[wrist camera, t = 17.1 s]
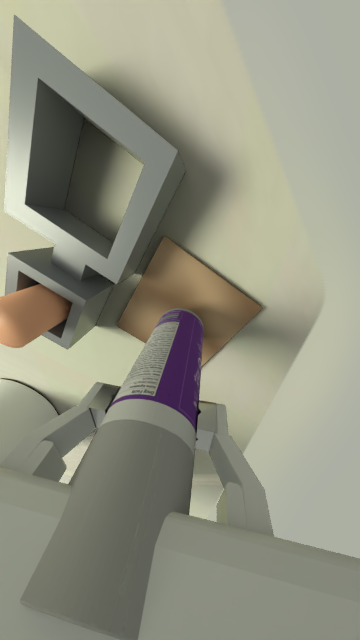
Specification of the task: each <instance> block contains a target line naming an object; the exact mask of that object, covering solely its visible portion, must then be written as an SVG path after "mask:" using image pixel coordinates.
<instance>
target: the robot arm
mask: <svg viewBox="0 0 360 640" xmlns="http://www.w3.org/2000/svg"><path fill="white" fill-rule="evenodd" d="M120 388H121V387H120V386H115V385H110V384H105V383H100V382H97V383H95V384H94V385H93V387H92V388H91V389H90V391H89V392H88V393H87V395H86V396H85V397H84V399H83V400H82V401H81V403H80V404H79V405H78V406H74V407H72V408H71V409H69V410H67V411H66V412H64V413H62V414H61V415H58V414H57V412H56V411H55V409H54V407H53V406H52V405H51V404H50V403H49V402H48V401H47V400H46V399H45V398H44V397H43V396H41V395H40V394H39V393H37V392H36V391H34V390H32V389H31V388H29V387H27V386H25V385H22V384H20V383H17V382H14V381H11V380H5V379H0V640H119V639H116V638H113V637H110V636H107V635H104V634H101V633H98V632H95V631H92V630H89V629H86V628H83V627H81V626H78V625H75V624H72V623H70V622H67V621H64V620H61V619H58V618H56V617H53V616H50V615H47V614H45V613H42V612H39V611H37V610H34V609H31V608H29V607H26V606H24V605H22V604H21V603H20V599H21V597H22V595H23V593H24V591H25V589H26V587H27V585H28V583H29V581H30V579H31V577H32V575H33V573H34V571H35V569H36V567H37V565H38V563H39V561H40V559H41V557H42V555H43V553H44V551H45V549H46V547H47V545H48V543H49V541H50V539H51V537H52V535H53V533H54V531H55V529H56V527H57V525H58V523H59V521H60V519H61V517H62V514H63V512H64V509H65V506H66V504H67V501H68V499H69V496H70V493H71V485H69V484H65V483H61V482H59V480H60V479H61V477H62V475H63V473H64V472H65V470H66V464H65V462H64V461H63V459H62V457H64V456H65V455H66V454H67V453H68V452H69V451H71V450H72V449H73V448H74V447H75V446H76V445H78V444H79V443H80V442H81V441H82V440H83V439H85V438H86V437H87V436H88V435H89V434H90V433H92V432H93V431H94V430H95V429H96V428H99V426H100V424H101V423H102V421H103V419H104V417H105V415H106V413H107V411H108V409H109V408H110V406H111V404H112V402H113V401H114V399H115V397H116V395H117V394H118V392H119V390H120ZM195 449H199V450H204V451H208V452H209V454H210V456H211V459H212V461H213V463H214V466H215V468H216V470H217V473H218V475H219V478H220V480H221V482H222V485H223V487H224V491H223V493H222V495H221V497H220V499H219V501H218V503H217V522H214V521H210V520H206V519H202V518H198V517H194V516H190V515H186V514H183V513H179V512H171V513H169V514H168V515H167V516H166V518H165V520H164V522H163V525H162V528H161V531H160V533H159V536H158V539H157V541H156V544H155V548H154V554H153V559H152V565H151V570H150V576H149V581H148V587H147V592H146V598H145V603H144V608H143V614H142V619H141V625H140V630H139V636H138V640H360V559H359V558H355V557H351V556H347V555H343V554H339V553H335V552H331V551H327V550H324V549H319V548H316V547H312V546H308V545H304V544H300V543H296V542H292V541H288V540H284V539H280V538H276V537H274V534H273V529H272V525H271V520H270V515H269V510H268V505H267V500H266V496H265V490H264V488H263V487H262V485H261V483H260V482H259V480H258V478H257V477H256V475H255V474H254V472H253V471H252V469H251V467H250V466H249V464H248V462H247V461H246V459H245V458H244V456H243V454H242V453H241V451H240V450H239V448H238V446H237V445H236V443H235V442H234V440H233V438H232V437H231V436H228V425H227V414H226V406H225V405H223V404H216V403H212V402H206V401H200V400H199V401H198V418H197V429H196V445H195Z"/></svg>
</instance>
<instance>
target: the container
mask: <svg viewBox="0 0 360 640" xmlns="http://www.w3.org/2000/svg"><path fill="white" fill-rule="evenodd" d="M203 330H204V329H203V323H202V321H201V319H200V318H199V317H198V316H197V315H196V314H195V313H194V312H192V311H190V310H188V309H184V308H174V309H171V310H169V311H167V312H165V313H164V314H163V315H162V317H161V318H160V320H159V322H158V323H157V325H156V327H155V329H154V330H153V332H152V334H151V336H150V337H149V339H148V341H147V343H146V344H145V346H144V348H143V350H142V351H141V353H140V355H139V357H138V359H137V360H136V362H135V364H134V366H133V367H132V369H131V371H130V373H129V374H128V376H127V378H126V380H125V381H124V383H123V385H122V387H121V388H120V390H119V392H118V394H117V395H116V397H115V399H114V401H113V402H112V404H111V406H110V408H109V409H108V411H107V413H106V415H105V417H104V419H103V421H102V423H101V424H100V426H99V428H98V430H97V432H96V434H95V436H94V438H93V439H92V441H91V443H90V445H89V447H88V449H87V451H86V452H85V454H84V456H83V458H82V460H81V462H80V464H79V466H78V467H77V469H76V471H75V473H74V475H73V477H72V479H71V480H70V482H69V485H71V493H70V496H69V499H68V501H67V504H66V506H65V509H64V512H63V514H62V517H61V519H60V521H59V523H58V525H57V527H56V529H55V531H54V533H53V535H52V537H51V539H50V541H49V543H48V545H47V547H46V549H45V551H44V553H43V555H42V557H41V559H40V561H39V563H38V565H37V567H36V569H35V571H34V573H33V575H32V577H31V579H30V581H29V583H28V585H27V587H26V589H25V591H24V593H23V595H22V597H21V599H20V603H21V604H22V605H24V606H26V607H29V608H31V609H34V610H37V611H39V612H42V613H45V614H47V615H50V616H53V617H56V618H58V619H61V620H64V621H67V622H70V623H72V624H75V625H78V626H81V627H83V628H86V629H89V630H92V631H95V632H98V633H101V634H104V635H107V636H110V637H113V638H116V639H119V640H138V636H139V630H140V625H141V619H142V614H143V608H144V603H145V598H146V592H147V587H148V581H149V576H150V570H151V565H152V559H153V554H154V548H155V544H156V541H157V539H158V536H159V533H160V531H161V528H162V525H163V522H164V520H165V518H166V516H167V515H168V514H169V513H171V512H179V513H183V514H186V515H189V509H190V498H191V488H192V477H193V466H194V456H195V445H196V429H197V418H198V401H199V391H200V376H201V362H202V347H203Z"/></svg>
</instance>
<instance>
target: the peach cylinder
mask: <svg viewBox="0 0 360 640" xmlns="http://www.w3.org/2000/svg"><path fill="white" fill-rule="evenodd" d="M71 306H72V302H71V301H69V300H67V299H66V298H64V297H62V296H61V295H59V294H57V293H56V292H54V291H52V290H51V289H49V288H47V287H46V286H44V285H42V284H38V285H35V286H32V287H29V288H26V289H23V290H20V291H17V292H14V293H11V294H8V295H5V296H2V297H0V343H1V344H3V345H6V346H8V347H12V348H21V347H23V346H25V345H26V344H28V343H29V342H31V341H32V340H34V339H36V338H37V337H39V336H40V335H42V334H43V333H45V332H47V331H48V330H50V329H51V328H53V327H54V326H56V325H58V324H59V323H61V322H62V321H64V320H65V319H67V318H68V316H69V313H70V310H71Z"/></svg>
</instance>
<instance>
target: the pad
mask: <svg viewBox="0 0 360 640" xmlns="http://www.w3.org/2000/svg"><path fill="white" fill-rule="evenodd" d="M174 308H184V309H188V310H190V311H192V312H194V313H195V314H196V315H197V316H198V317H199V318H200V319H201V321H202V323H203V329H204V330H203V347H202V362H201V366H203V365H204V364H205V363H206V362H207V361H208V360H209V359H210V358H211V357H212V356H213V355H214V354H215V353H216V352H217V351H218V350H219V349H220V348H222V347H223V346H224V345H225V344H226V343H227V342H228V341H229V340H230V339H231V338H232V337H233V336H234V335H235V334H236V333H237V332H238V331H240V330H241V329H242V328H243V327H244V326H245V325H246V324H247V323H248V322H249V321H250V320H251V319H252V318H253V317H254V316H255V315H256V314H257V313H259V312H260V311H261V310H262V309H263V308H262V307H261V306H260V305H259V304H258V303H256V302H255V301H253V300H252V299H251V298H249V297H248V296H247V295H245V294H244V293H243V292H241V291H240V290H238V289H237V288H236V287H234V286H233V285H232V284H230V283H229V282H227V281H226V280H225V279H223V278H222V277H221V276H219V275H218V274H216V273H215V272H214V271H212V270H211V269H210V268H208V267H207V266H206V265H204V264H203V263H201V262H200V261H199V260H197V259H196V258H195V257H193V256H192V255H190V254H189V253H188V252H186V251H185V250H184V249H182V248H181V247H179V246H178V245H177V244H175V243H174V242H173V241H171V240H170V239H169V238H167V237H166V236H164V237H163V239H162V241H161V243H160V245H159V247H158V248H157V250H156V252H155V254H154V256H153V258H152V260H151V262H150V264H149V265H148V267H147V269H146V271H145V273H144V275H143V277H142V279H141V280H140V282H139V284H138V286H137V288H136V290H135V292H134V294H133V295H132V297H131V299H130V301H129V303H128V305H127V307H126V309H125V310H124V312H123V314H122V316H121V318H120V320H119V322H118V324H117V325H116V326H118V327H119V328H121V329H123V330H124V331H126V332H128V333H129V334H131V335H133V336H134V337H136V338H138V339H139V340H141V341H143V342H144V343H147V341H148V339H149V337H150V336H151V334H152V332H153V330H154V329H155V327H156V325H157V323H158V322H159V320H160V318H161V317H162V315H163V314H164V313H165V312H167V311H169V310H171V309H174Z"/></svg>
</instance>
